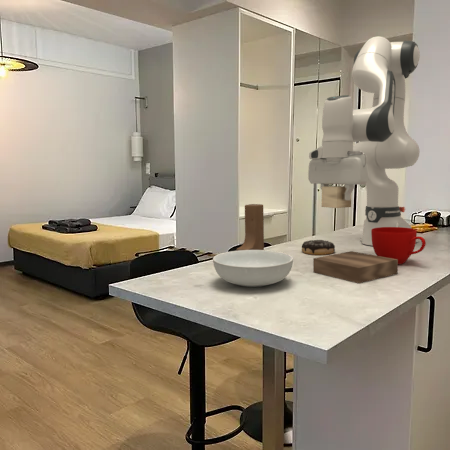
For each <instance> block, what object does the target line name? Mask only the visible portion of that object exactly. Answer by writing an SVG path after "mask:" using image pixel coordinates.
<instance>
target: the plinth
mask: <svg viewBox="0 0 450 450" xmlns="http://www.w3.org/2000/svg"><path fill="white" fill-rule="evenodd" d="M312 259H313V260H312V261H313V262H312V263H313V264H312V266H313V272H312V273H314V274H319V275H324V276H328V277H331V278H335V279H339V280H344V281H347V282H352V283H355V284H362V283H367V282H370V281H375V280H379V279H383V278H387V277H390V276H393V275H398V271H399V267H398V266H399V264H398V259H392V258H387V257H381V256H377V255H376V254H375V255H374V254H368V253H365V252H364V253H363V252H357V251H347V252H341V253H340V252H339V253H335V254H328V255H322V256H319V257H313V258H312Z"/></svg>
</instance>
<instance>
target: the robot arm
mask: <svg viewBox="0 0 450 450" xmlns="http://www.w3.org/2000/svg"><path fill="white" fill-rule="evenodd" d="M420 57H421V54H420V50H419V45H418V44H417V43H416V42H415V41H413V40H404V41H390V40H389V39H387V38H386V37H384V36H379V35H378V36H373V37H370V38H369V39H368V40H367V41H365V43H364V44H363V46H362V47H361V48H360V49H358V50H357V51H356V52H355V54H354V57H353V67H352V70H351V78H352V81H353V83H354V85H355V86H356V87H357V88H358V89H359V90H360V91H363V92H365V93H369V94H370V93H371V94H373V96H372V97H373V100H372V107H367V108H360V109H359V108H358V109H355V108H354V103H353V99H352V96H351V95H349V94H344V95H335V96H330V97H327V98H326V99H325V101H324V102H323V103H324V104H323V108H322V119H321V121H322V122H321V128H322V131H323V132H322V133H323V135H322V140H321V145H320V146H319V147H317V148H316V149H314V150H312V151H310V152H309V154H308V159H310V161H309V163H308V172H307V173H308V174H307V175H308V177H307V178H308V181H309V183H310V184H313V185H314V184H317V185H318V184H319V185H320V190H321V191H322V187H327V186H329V185H344V186H345V188H347V189H346V192H345V194H342V197H343V198H342V200H350V194H351V195H352V193H353V191H354V188H355V185H365V187H366V206H365V210H364V212H365V214H364V215H365V216H366V217H365V219H364V222H363V228H362V236H361V237H360V239H359V241H360V242H361V244H363V245H366V246H372V247H373V245H372V235H371V230H372V229H373V228H379V227H403V228H411V229H413V228H412V226H411V224H409V223H408V221H406V220H405V219H404V218H403V217H402V214H401V213H405V211H406V207H405V206H399V186H398V184H397V183H396V181H394V180H392V179H391V178H390V177H388V175H387V172H386V169H387V170H388V169H389V170H390V169H392V170H393V169H395V170H396V169H398V170H399V169H400V170H401V169H404V168H408V167H412V166H414V165H415V164H416V163H417V162H418V160H419V157H420V147H419V145H418V143H417V141H416V140H415V139H414V138H412V137H411V136H410V135H409V133H408V132H407V129H406V126H405V122H404V119H405V118H404V117H405V103H406V80H407V78H409V76H410V74H412V73H413V72H414V71H415V70H416V68H418V64H419V61H420ZM419 241H420V239H416V243H419Z"/></svg>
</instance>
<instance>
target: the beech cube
mask: <svg viewBox="0 0 450 450" xmlns="http://www.w3.org/2000/svg"><path fill="white" fill-rule="evenodd" d="M346 189H347V188H345V185H344V186H341V185H331V186H327V187H322V190H321V208H329V209H343V208H352V193H351V194H350V200H342V198H343V197H342V194H345V192H346Z"/></svg>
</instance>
